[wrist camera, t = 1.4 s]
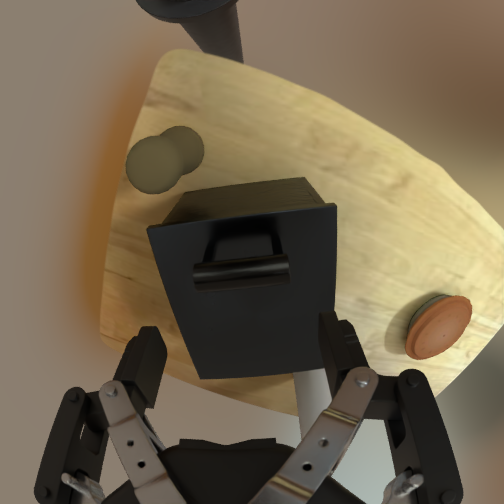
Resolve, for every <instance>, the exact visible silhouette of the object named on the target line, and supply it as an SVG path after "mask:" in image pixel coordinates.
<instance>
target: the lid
mask: <svg viewBox="0 0 504 504" xmlns="http://www.w3.org/2000/svg"><path fill="white" fill-rule="evenodd" d="M146 230H147V234H148V237H149V241H150V244H151V247H152V251H153V254H154V257H155V260H156V264H157V267H158V270H159V273H160V276H161V279H162V282H163V285H164V288H165V291H166V294H167V296H168V299H169V302H170V305H171V308H172V310H173V313H174V316H175V318H176V321H177V324H178V326H179V329H180V332H181V334H182V337H183V339H184V342H185V344H186V347H187V349H188V352H189V354H190V356H191V359H192V361H193V364H194V366H195V368H196V371H197V373H198V375H199V377H200V379H226V378H244V377H257V376H269V375H278V374H287V373H296V372H303V371H311V370H317V369H324V364H323V360H322V356H321V352H320V348H319V342H318V324H319V313H320V312H327V311H334V306H335V289H336V264H337V206H336V204H335V203H325V204H314V205H304V206H294V207H285V208H276V209H267V210H258V211H250V212H242V213H234V214H226V215H218V216H211V217H203V218H196V219H189V220H182V221H176V222H169V223H163V224H156V225H150V226H148V228H147V229H146Z"/></svg>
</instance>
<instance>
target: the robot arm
mask: <svg viewBox="0 0 504 504" xmlns="http://www.w3.org/2000/svg"><path fill="white" fill-rule="evenodd" d="M171 1H188V0H171ZM318 342H319V348H320V352H321V356H322V360H323V364H324V368H325V372H326V377H327V381H328V385H329V389H330V394H331V398H332V401H331V403H330V405H329V406H328V408H327V409H324V410H323V411H322V412H321V413H320V415H319V416H318V418H317V419H316V421H315V422H314V424H313V425H312V427H311V428H310V430H309V431H308V432H307V434H306V435H305V437H304V438H303V439H302V441H301V443H300V444H299V445H298V446H297V448H296V449H295V448H293V447H290V446H288V445H284V444H278V443H276V438H266V439H251V440H247V441H243V442H239V443H235V444H231V445H221V444H217V443H213V442H209V441H205V440H195V439H194V440H193V439H180V442H179V445H175V446H172V447H169V448H167V449H166V447H165V446H164V445H163V444H162V442H161V441H160V440H159V437H158V436H157V434H156V432H155V431H154V429H153V427H152V425H151V424H150V422H149V420H148V418H147V416H146V415H145V409H146V408H153V409H154V405H155V401H156V397H157V393H158V389H159V386H160V382H161V378H162V374H163V371H164V367H165V363H166V360H167V348H166V345H165V343H164V341H163V339H162V336H161V334H160V332H159V329H158V328H157V327H156V326H143V327H141V329H140V331H139V334H138V336H134V337H133V338H132V339H131V340H130V341H129V342H128V344H127V346H126V348H125V352H124V353H123V356H122V359H121V360H120V363H119V365H118V368H117V370H116V373H115V375H114V378H113V380H112V381H108V382H106V383H105V384H103V385H102V387H101V388H100V390H99V391H96V392H90V393H86V392H85V391H84V390H83V389H82V388H80V387H73V388H71V389H69V390H68V391H67V392H66V393H65V395H64V397H63V400H62V402H61V405H60V407H59V410H58V413H57V415H56V418H55V421H54V424H53V426H52V429H51V432H50V435H49V438H48V441H47V444H46V447H45V451H44V454H43V457H42V461H41V464H40V468H39V471H38V475H37V479H36V483H35V487H34V495H35V498H36V500H37V501H38V502H39V503H40V504H366V503H365V502H363V501H362V500H361V499H359V498H358V497H356V496H355V495H354V494H353V493H351V492H350V491H349V490H347V489H346V488H345V487H343V486H342V485H341V484H340V483H338V482H337V481H336V480H335V479H333V478H332V477H331V476H332V474H333V473H334V471H335V470H336V468H337V466H338V465H339V463H340V461H341V460H342V458H343V457H344V455H345V453H346V451H347V449H348V447H349V446H350V444H351V442H352V440H353V439H354V437H355V435H356V433H357V431H358V429H359V428H360V426H361V424H362V422H363V420H364V419H378V420H384V423H385V427H386V432H387V436H388V440H389V445H390V450H391V454H392V459H393V464H394V469H395V475H396V478H394V479H393V480H392V481H391V482H390V483H389V484H388V485H387V486H386V488H385V490H384V498H383V502H382V504H460V503H461V501H462V499H463V488H462V483H461V479H460V475H459V471H458V468H457V464H456V460H455V457H454V453H453V450H452V447H451V444H450V441H449V438H448V434H447V431H446V428H445V426H444V423H443V419H442V417H441V414H440V411H439V408H438V406H437V403H436V400H435V398H434V395H433V393H432V390H431V388H430V385H429V383H428V380H427V378H426V376H425V375H424V374H423V373H422V372H421V371H419V370H416V369H407V370H404V371H403V372H401V373H400V375H399V376H383V375H379V374H377V373H376V372H375V371H374V370H373V369H371V368H370V367H369V365H368V362H367V360H366V357H365V355H364V352H363V349H362V347H361V344H360V342H359V339H358V337H357V335H356V332H355V329H354V327H353V325H352V324H351V323H349V322H348V321H347V320H346V319H345V320H339V321H338V318H337V315H336V312H335V311H327V312H320V313H319V324H318ZM83 424H84V425H85V426H84V429H83V432H82V436H81V439H80V435H81V431H82V428H83ZM109 435H110V438H111V440H112V442H113V445H114V447H115V449H116V452H117V454H118V456H119V458H120V461H121V463H122V465H123V467H124V469H125V471H126V473H127V475H128V477H129V479H128V480H127V481H126V482H125V483H124V484H123V485H121V486H120V487H119V488H118V489H116V490H115V491H114V492H113V493H111V494H110V495H109V496H107V498H105V495H104V494H103V490H102V488H101V486H100V485H99V481H100V476H101V470H102V465H103V460H104V456H105V451H106V446H107V441H108V438H109Z"/></svg>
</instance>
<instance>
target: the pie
mask: <svg viewBox="0 0 504 504" xmlns="http://www.w3.org/2000/svg"><path fill="white" fill-rule="evenodd" d="M471 315H472V305H471V303H470V300H469V299H467V298H465V297H463V296H449V295H441V296H437V297H435V298H433V299H431V300H429V301H428V302H426V303H425V304H424V305H423V306H422V307H421V308H420V309H419V310H418V311H417V312H416V313H415V315H414V316H413V318H412V320H411V322H410V324H409V329H408V335H407V340H406V344H405V350H406V353H407V355H409V356H410V357H411V358H413V359H416V360H421V359H427V358H430V357H433V356H436V355H438V354H440V353H442V352H444V351H445V350H447V349H448V348H449V347H451V346H452V345H453V344H454V343H455V342H456V341H457V340H458V339H459V337H460V336H461V335H462V334H463V332H464V330H465V328H466V327H467V325H468V323H469V322H470V319H471Z"/></svg>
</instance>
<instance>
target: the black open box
mask: <svg viewBox="0 0 504 504" xmlns="http://www.w3.org/2000/svg"><path fill="white" fill-rule="evenodd" d="M314 204H325V202H324V201H323V200H322V198H321V197H320V196H319V194H318V193H317V192H316V191H315V189H314V188H313V187H312V186H311V184H310V183H309V182H308V181H307V179H306V178H305V177H301V178H290V179H280V180H271V181H262V182H253V183H245V184H238V185H230V186H223V187H216V188H209V189H202V190H196V191H190V192H185V193H184V194H183V195H182V197H181V198H180V199H179V201H178V202H177V203H176V205H175V206H174V207H173V209H172V210H171V211H170V213H169V214H168V216H167V217H166V218H165V220H164V221H163V222H162V224H163V223H169V222H176V221H182V220H189V219H196V218H203V217H211V216H218V215H226V214H234V213H242V212H250V211H258V210H267V209H276V208H285V207H294V206H304V205H314Z"/></svg>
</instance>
